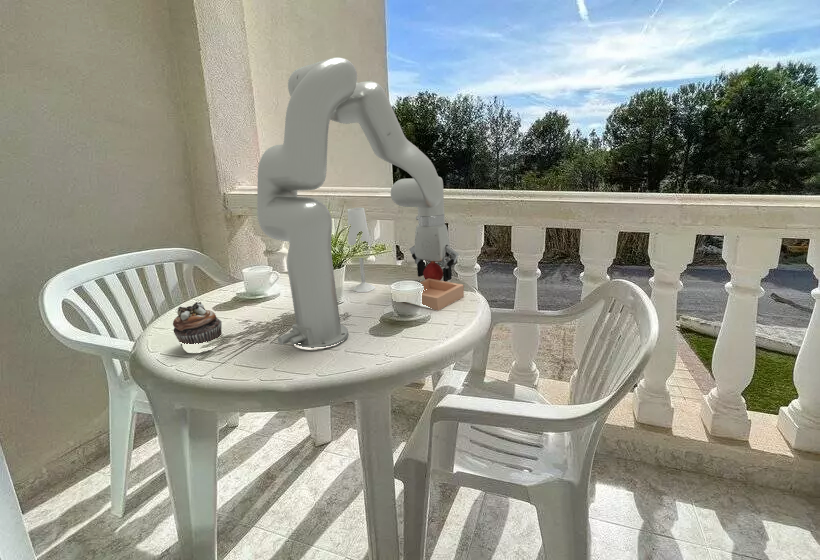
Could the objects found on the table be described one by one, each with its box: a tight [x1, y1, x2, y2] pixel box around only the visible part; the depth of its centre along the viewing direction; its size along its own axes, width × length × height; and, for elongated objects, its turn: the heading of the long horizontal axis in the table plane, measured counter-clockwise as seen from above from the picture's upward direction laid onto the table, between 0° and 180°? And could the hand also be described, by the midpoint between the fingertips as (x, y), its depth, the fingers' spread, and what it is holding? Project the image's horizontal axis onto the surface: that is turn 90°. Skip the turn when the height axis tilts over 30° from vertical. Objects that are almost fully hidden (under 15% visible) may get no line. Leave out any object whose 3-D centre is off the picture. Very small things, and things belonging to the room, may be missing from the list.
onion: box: [423, 261, 443, 281], centre depth 125 cm, size 6×6×8 cm
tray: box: [419, 278, 465, 312], centre depth 114 cm, size 12×12×3 cm
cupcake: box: [172, 301, 223, 344], centre depth 94 cm, size 10×10×10 cm
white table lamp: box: [347, 207, 376, 293], centre depth 124 cm, size 7×7×24 cm
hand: (434, 277), depth 125 cm, fingers open, 9 cm apart
